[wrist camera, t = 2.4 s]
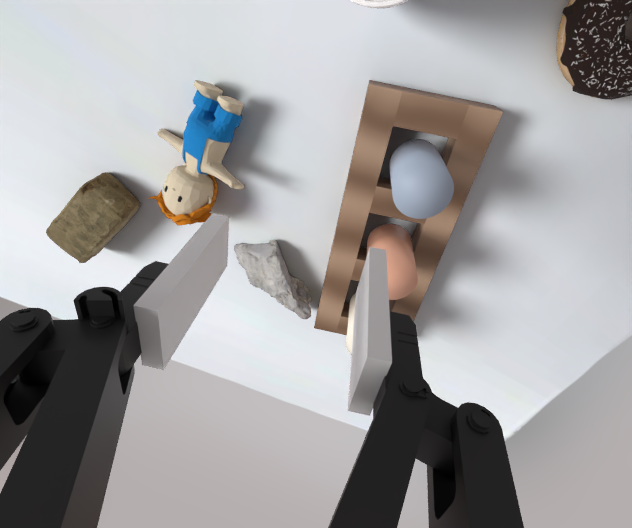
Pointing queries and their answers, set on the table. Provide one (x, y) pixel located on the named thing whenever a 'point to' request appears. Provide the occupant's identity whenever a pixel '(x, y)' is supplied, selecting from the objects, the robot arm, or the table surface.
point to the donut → (596, 48)
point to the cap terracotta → (396, 258)
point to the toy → (201, 156)
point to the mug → (379, 3)
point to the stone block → (93, 217)
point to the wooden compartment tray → (376, 192)
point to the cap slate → (420, 180)
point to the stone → (274, 276)
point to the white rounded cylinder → (350, 324)
